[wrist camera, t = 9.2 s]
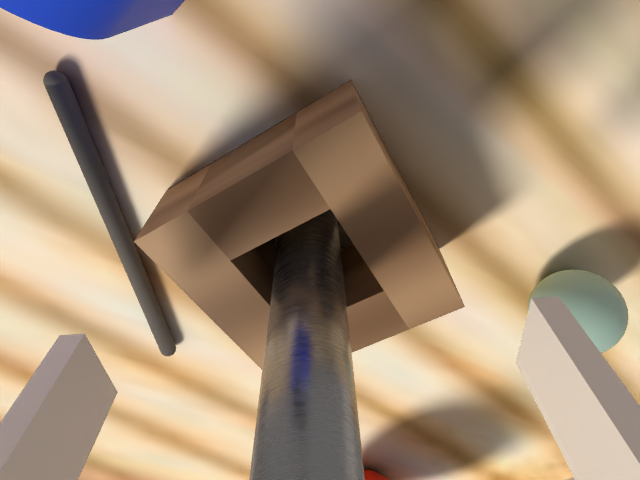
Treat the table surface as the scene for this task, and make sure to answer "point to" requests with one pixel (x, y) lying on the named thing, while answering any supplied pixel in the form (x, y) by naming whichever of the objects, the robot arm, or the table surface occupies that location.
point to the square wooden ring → (294, 209)
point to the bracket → (91, 15)
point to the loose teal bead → (588, 304)
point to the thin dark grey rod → (107, 203)
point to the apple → (373, 475)
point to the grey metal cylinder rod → (308, 364)
